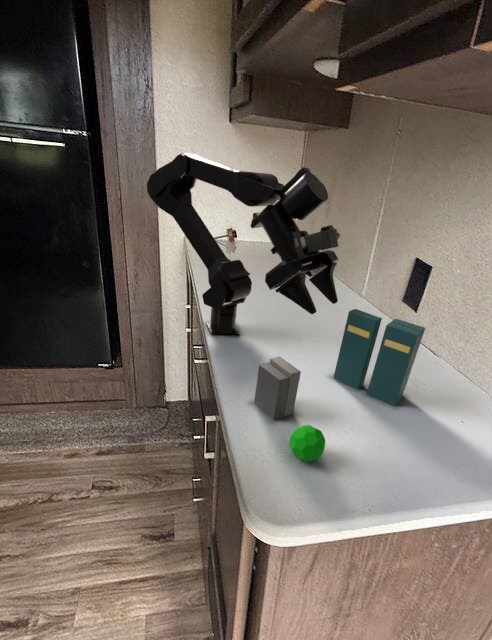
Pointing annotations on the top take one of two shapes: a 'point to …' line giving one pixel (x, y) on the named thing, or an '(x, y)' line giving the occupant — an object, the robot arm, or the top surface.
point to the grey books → (277, 387)
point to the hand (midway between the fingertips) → (325, 307)
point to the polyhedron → (307, 443)
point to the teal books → (395, 360)
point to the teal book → (356, 348)
